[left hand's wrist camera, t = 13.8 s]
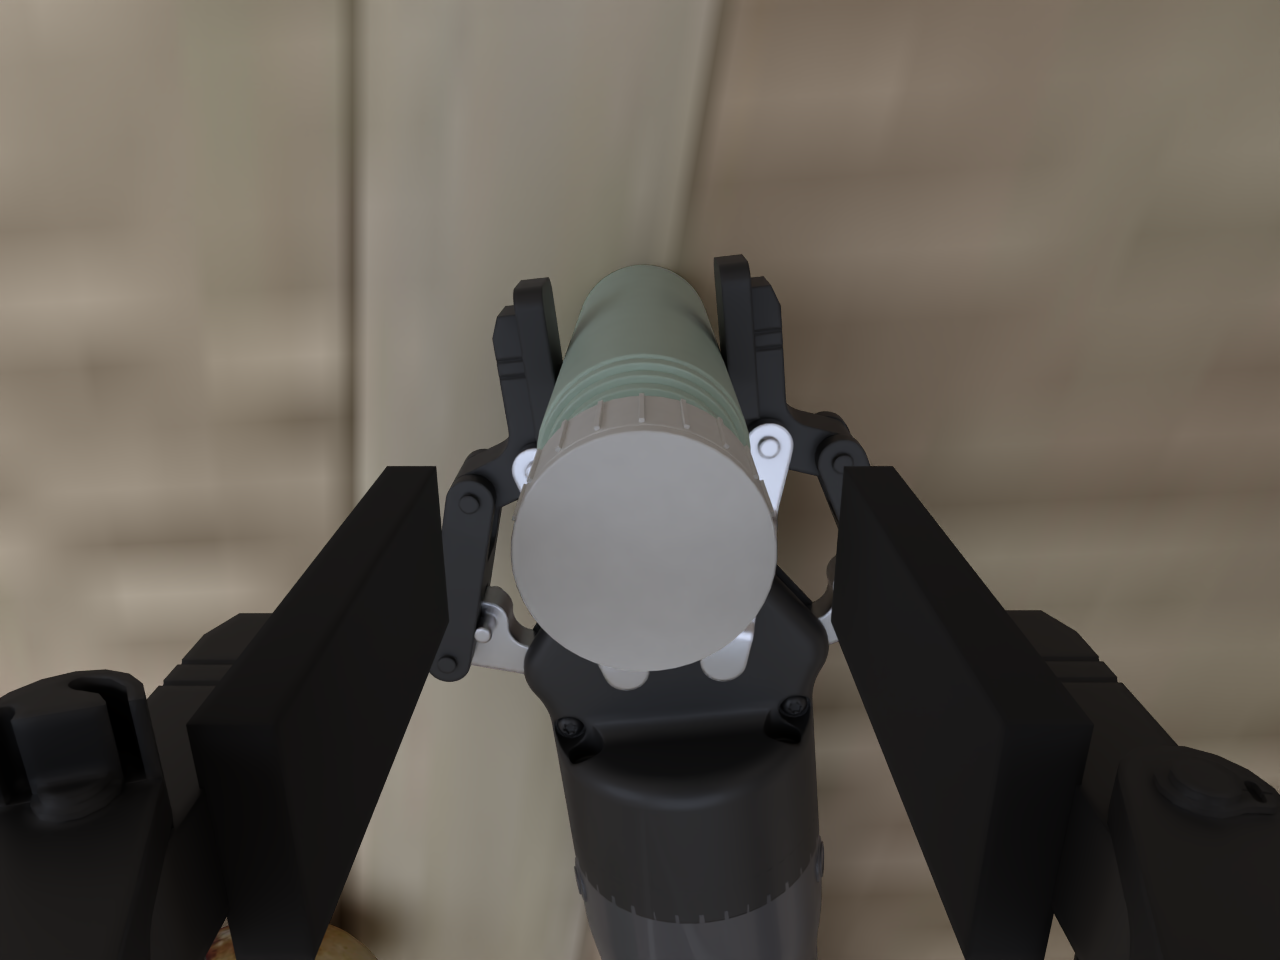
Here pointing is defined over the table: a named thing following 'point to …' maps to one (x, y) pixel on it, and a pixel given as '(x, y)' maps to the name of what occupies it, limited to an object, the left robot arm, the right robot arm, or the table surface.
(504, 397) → the right robot arm
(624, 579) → the cap
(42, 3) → the table surface
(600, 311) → the bottle
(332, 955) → the seashell
